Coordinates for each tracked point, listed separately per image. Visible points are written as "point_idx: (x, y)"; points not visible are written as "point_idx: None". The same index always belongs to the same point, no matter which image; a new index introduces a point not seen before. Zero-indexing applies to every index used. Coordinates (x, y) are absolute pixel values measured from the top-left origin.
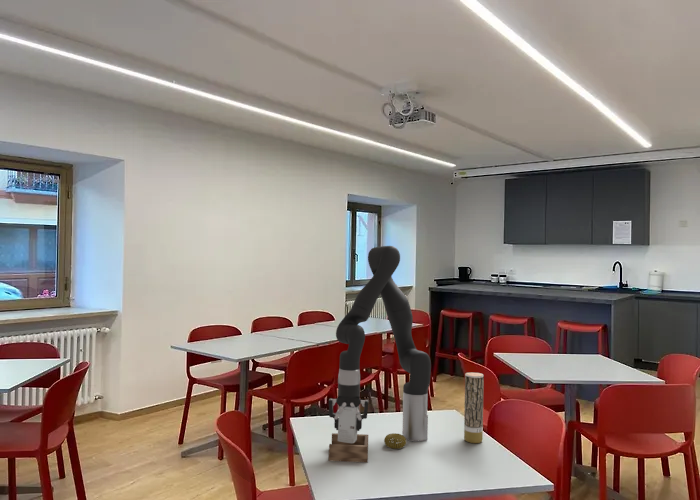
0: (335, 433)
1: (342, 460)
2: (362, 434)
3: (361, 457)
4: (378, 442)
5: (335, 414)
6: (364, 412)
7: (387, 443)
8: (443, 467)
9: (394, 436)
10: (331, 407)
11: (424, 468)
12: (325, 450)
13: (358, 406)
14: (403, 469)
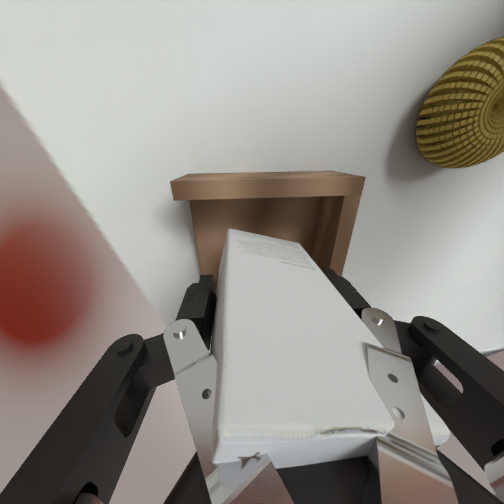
0: (189, 181)
1: None
2: (334, 178)
3: None
4: (397, 62)
5: (172, 368)
6: (434, 403)
7: (426, 149)
8: (496, 278)
9: (501, 96)
10: (103, 488)
11: (446, 289)
12: (171, 203)
13: (438, 433)
14: (393, 301)
